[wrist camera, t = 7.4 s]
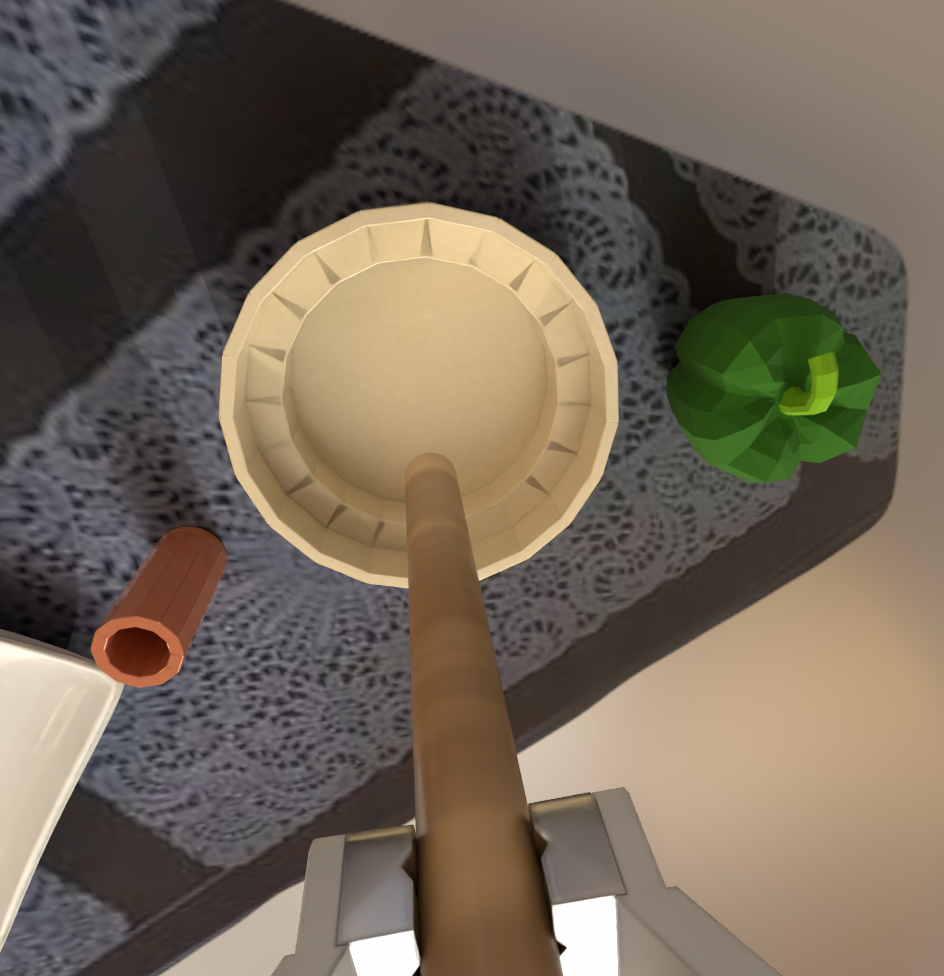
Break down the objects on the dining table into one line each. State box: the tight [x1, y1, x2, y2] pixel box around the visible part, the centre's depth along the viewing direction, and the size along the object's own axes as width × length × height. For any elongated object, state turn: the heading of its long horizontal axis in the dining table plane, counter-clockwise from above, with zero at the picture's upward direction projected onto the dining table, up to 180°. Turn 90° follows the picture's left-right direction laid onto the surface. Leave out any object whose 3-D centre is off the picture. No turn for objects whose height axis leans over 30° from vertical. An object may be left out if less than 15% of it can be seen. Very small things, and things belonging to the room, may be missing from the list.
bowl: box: [219, 201, 619, 588], centre depth 31 cm, size 17×17×6 cm
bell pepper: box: [667, 293, 881, 483], centre depth 31 cm, size 8×8×10 cm
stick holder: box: [91, 527, 227, 687], centre depth 33 cm, size 4×4×8 cm
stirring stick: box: [405, 453, 564, 976], centre depth 14 cm, size 2×2×20 cm
